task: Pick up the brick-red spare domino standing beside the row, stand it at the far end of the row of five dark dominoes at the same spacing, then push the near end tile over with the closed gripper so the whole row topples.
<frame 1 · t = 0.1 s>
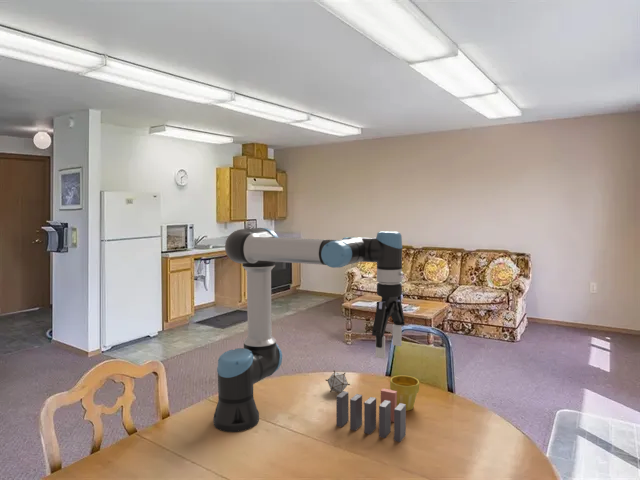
hand: (389, 351, 139), 28 cm above the table, tool pointing down, fingers open, 13 cm apart
spare domino: (388, 419, 155), on the table
domino 1: (342, 423, 152), on the table
domino 3: (370, 430, 147), on the table
domino 4: (384, 434, 145), on the table
plant pot: (404, 407, 164), on the table
domino 5: (399, 437, 142), on the table
domino 2: (356, 426, 150), on the table
game die: (337, 392, 177), on the table
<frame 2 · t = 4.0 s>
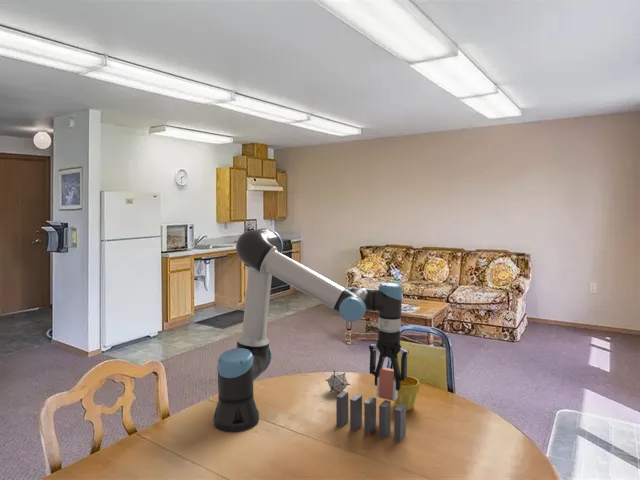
hand: (387, 396, 154), 8 cm above the table, tool pointing down, fingers closed on spare domino, 5 cm apart
spare domino: (387, 398, 154), point 7 cm above the table, touching gripper
everything else where it was.
when the fingers open (1 cm above the table, at t = 8.5 s): spare domino stays where it is, on the table.
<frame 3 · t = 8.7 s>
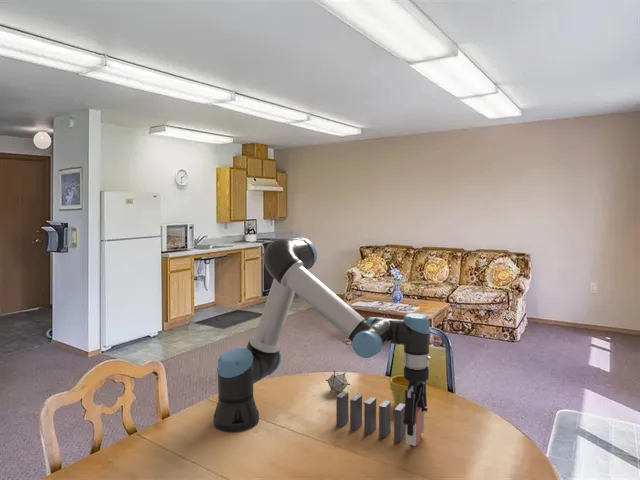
hand: (415, 437, 140), 1 cm above the table, tool pointing down, fingers open, 8 cm apart
spare domino: (415, 441, 140), on the table
everything else where it was.
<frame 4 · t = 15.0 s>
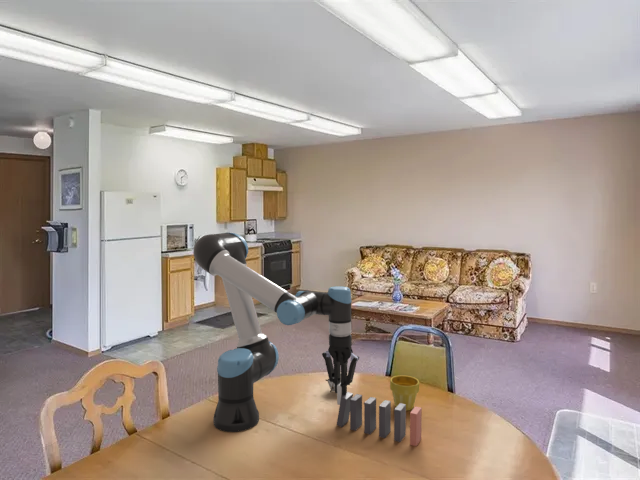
hand: (341, 403, 152), 7 cm above the table, tool pointing down, fingers closed
domino 1: (342, 423, 152), on the table, tilted 10°, touching gripper
everything else where it was.
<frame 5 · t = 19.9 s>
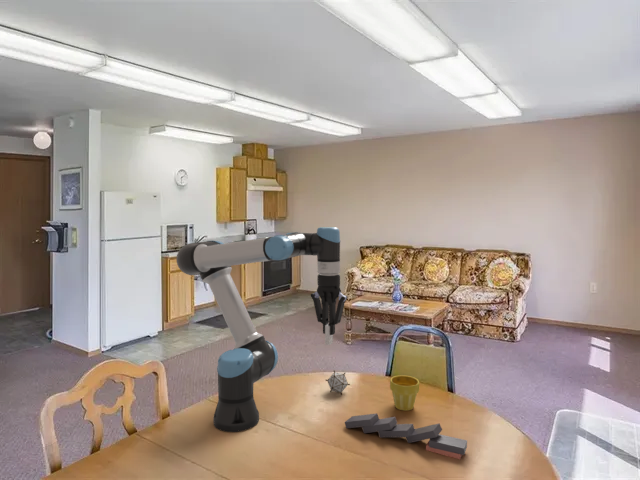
hand: (329, 343, 152), 26 cm above the table, tool pointing down, fingers closed
spare domino: (428, 444, 137), on the table, tilted 90°, touching domino 5
domino 1: (349, 422, 151), point 1 cm above the table, tilted 70°
domino 3: (381, 430, 145), point 1 cm above the table, tilted 75°, touching domino 2, domino 4
domino 4: (410, 436, 141), point 1 cm above the table, tilted 63°, touching domino 3
domino 5: (431, 439, 136), point 2 cm above the table, tilted 90°, touching spare domino
domino 2: (366, 426, 147), point 1 cm above the table, tilted 68°, touching domino 3
everything else where it was.
at the end: spare domino tilted 90°; domino 3 tilted 75°; spare domino inside the target area (1.3 cm from its centre), on the table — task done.
